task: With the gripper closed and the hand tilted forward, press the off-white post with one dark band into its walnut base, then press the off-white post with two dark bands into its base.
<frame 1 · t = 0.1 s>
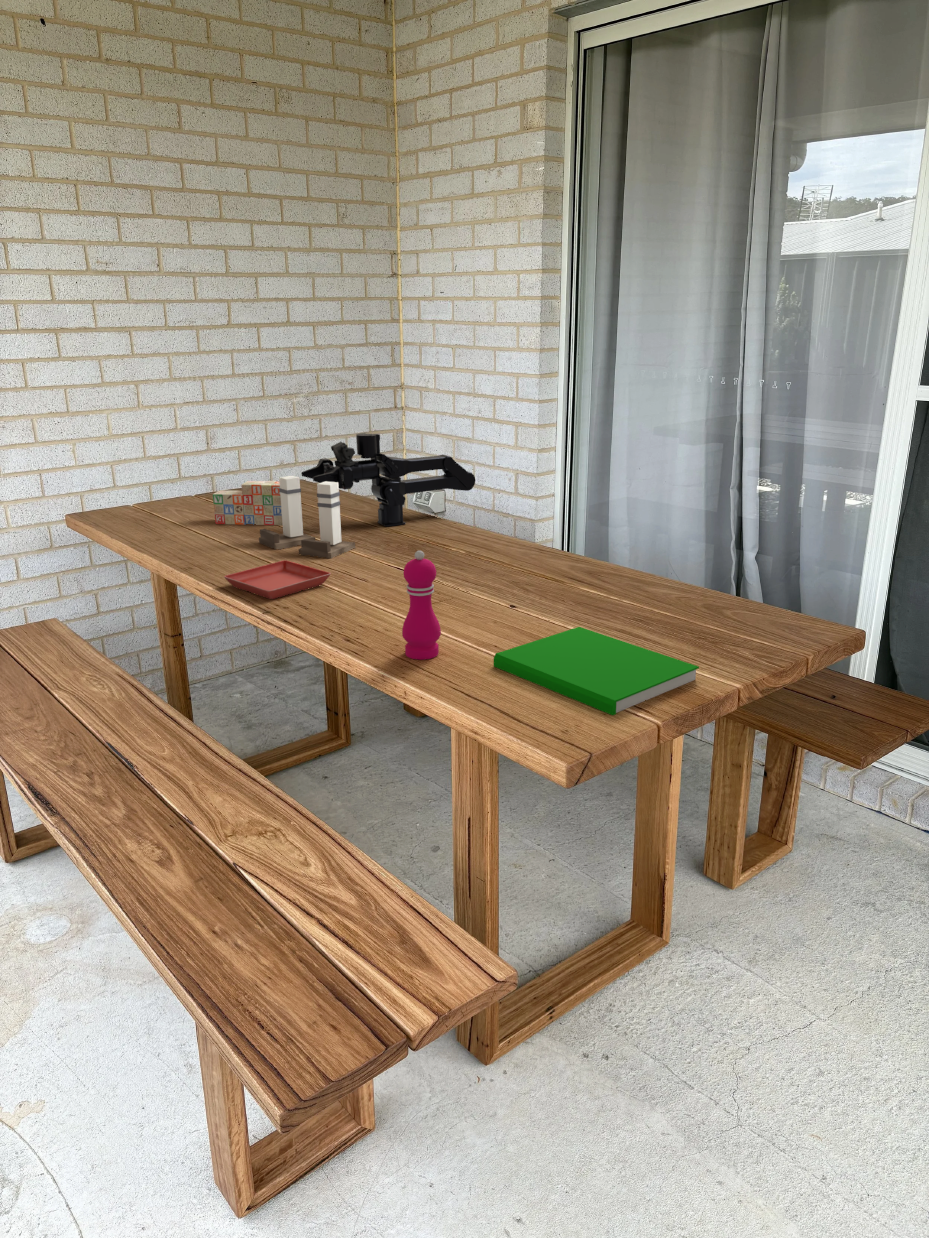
hand: (307, 476, 262), 17 cm above the table, tool horizontal, fingers open, 9 cm apart
post two: (329, 513, 247), point 10 cm above the table, slide at 0.0 cm
plant saucer: (278, 588, 219), on the table
stack of blocks: (252, 523, 283), on the table
base one: (287, 542, 258), on the table
pepper mill: (422, 654, 175), on the table
post one: (291, 506, 256), point 10 cm above the table, slide at 0.0 cm
book: (593, 677, 166), on the table
base two: (327, 551, 249), on the table
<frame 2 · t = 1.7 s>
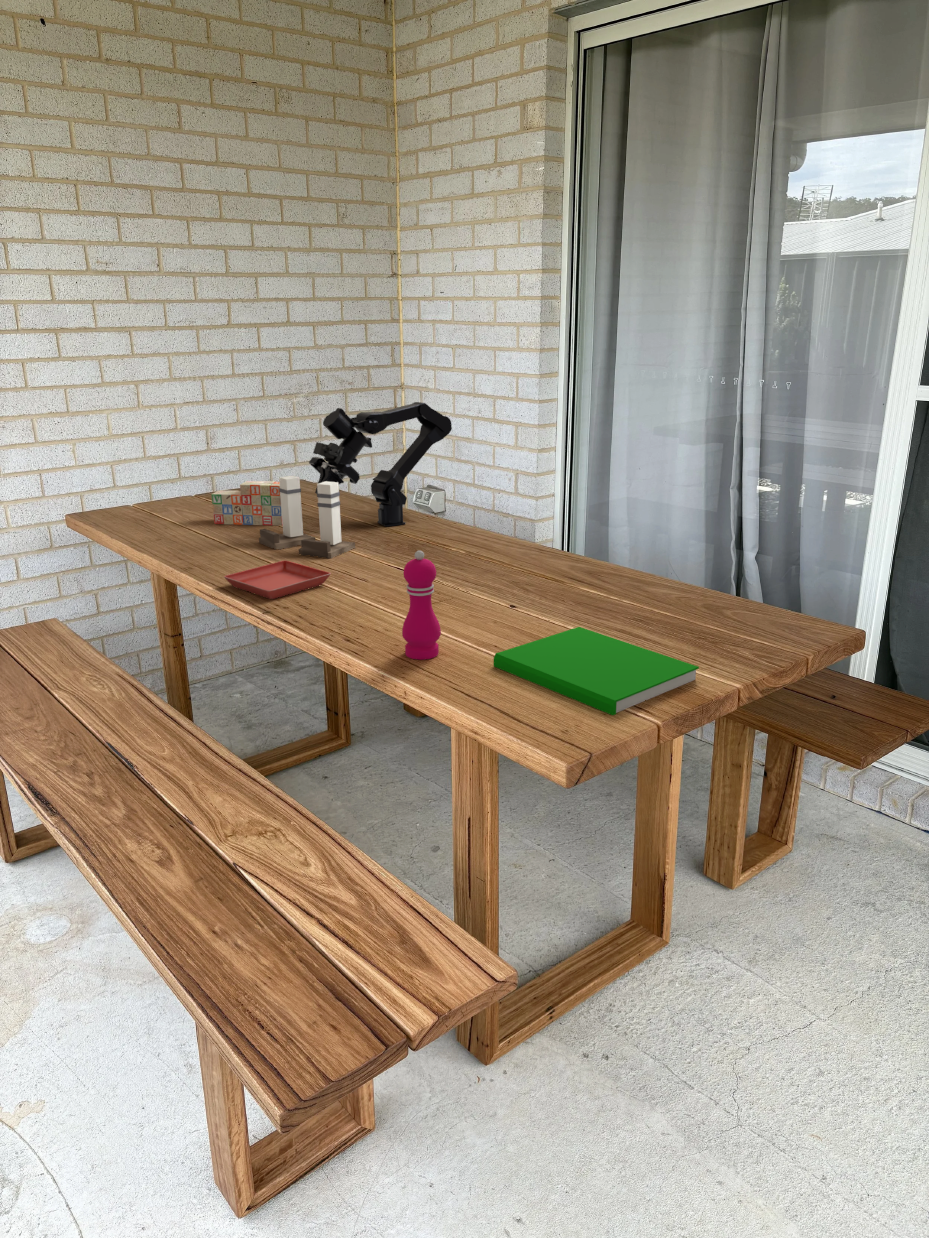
hand: (316, 493, 260), 12 cm above the table, tool tilted 45°, fingers closed
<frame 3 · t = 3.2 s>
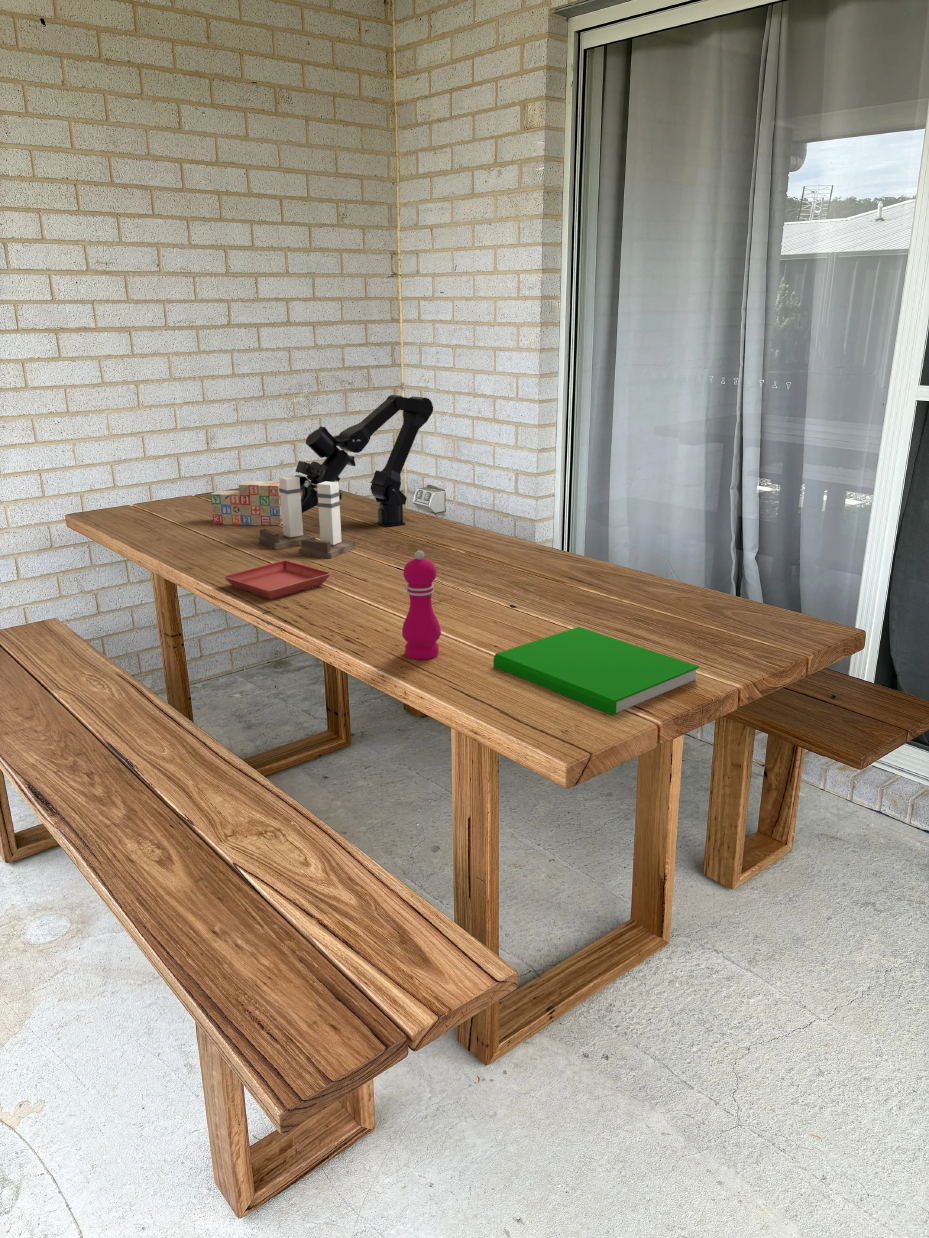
hand: (298, 512, 258), 8 cm above the table, tool tilted 45°, fingers closed, pressing on post one
post one: (291, 506, 256), point 10 cm above the table, slide at 0.0 cm, touching gripper
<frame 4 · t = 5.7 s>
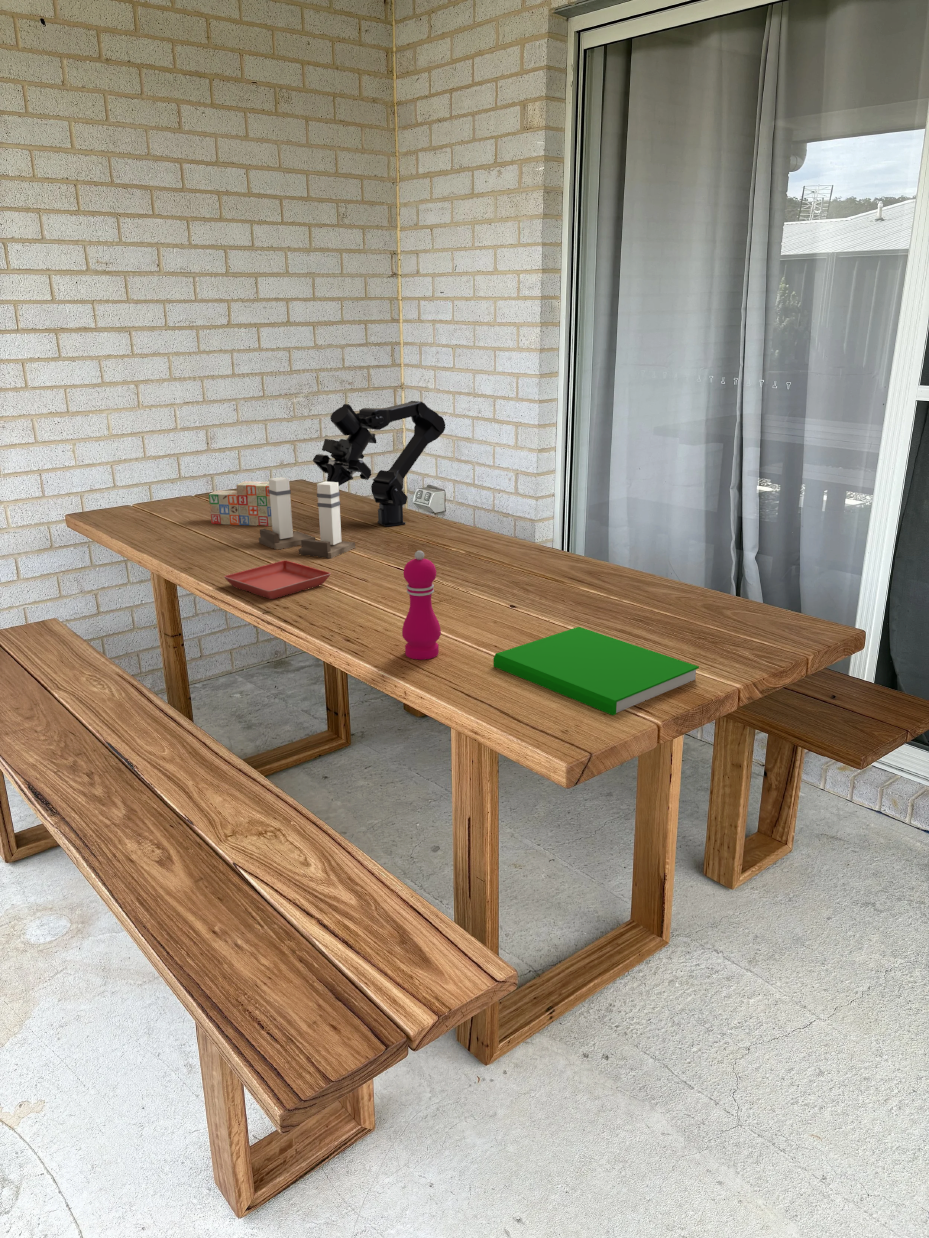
hand: (326, 491, 257), 14 cm above the table, tool tilted 45°, fingers closed
post one: (280, 508, 254), point 10 cm above the table, slide at 3.2 cm
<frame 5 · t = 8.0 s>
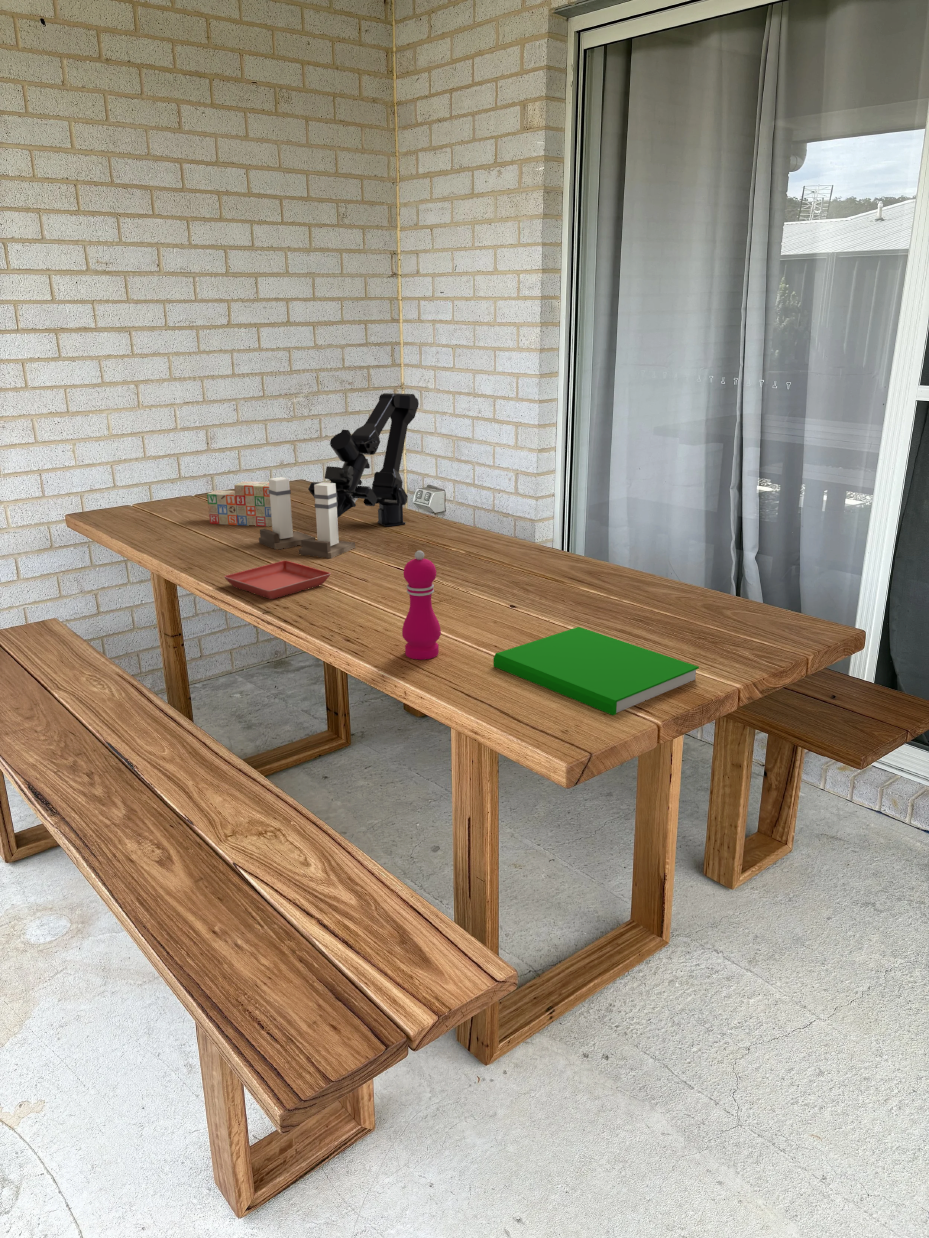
hand: (331, 520, 249), 8 cm above the table, tool tilted 45°, fingers closed, pressing on post two
post two: (326, 514, 246), point 10 cm above the table, slide at 1.4 cm, touching gripper
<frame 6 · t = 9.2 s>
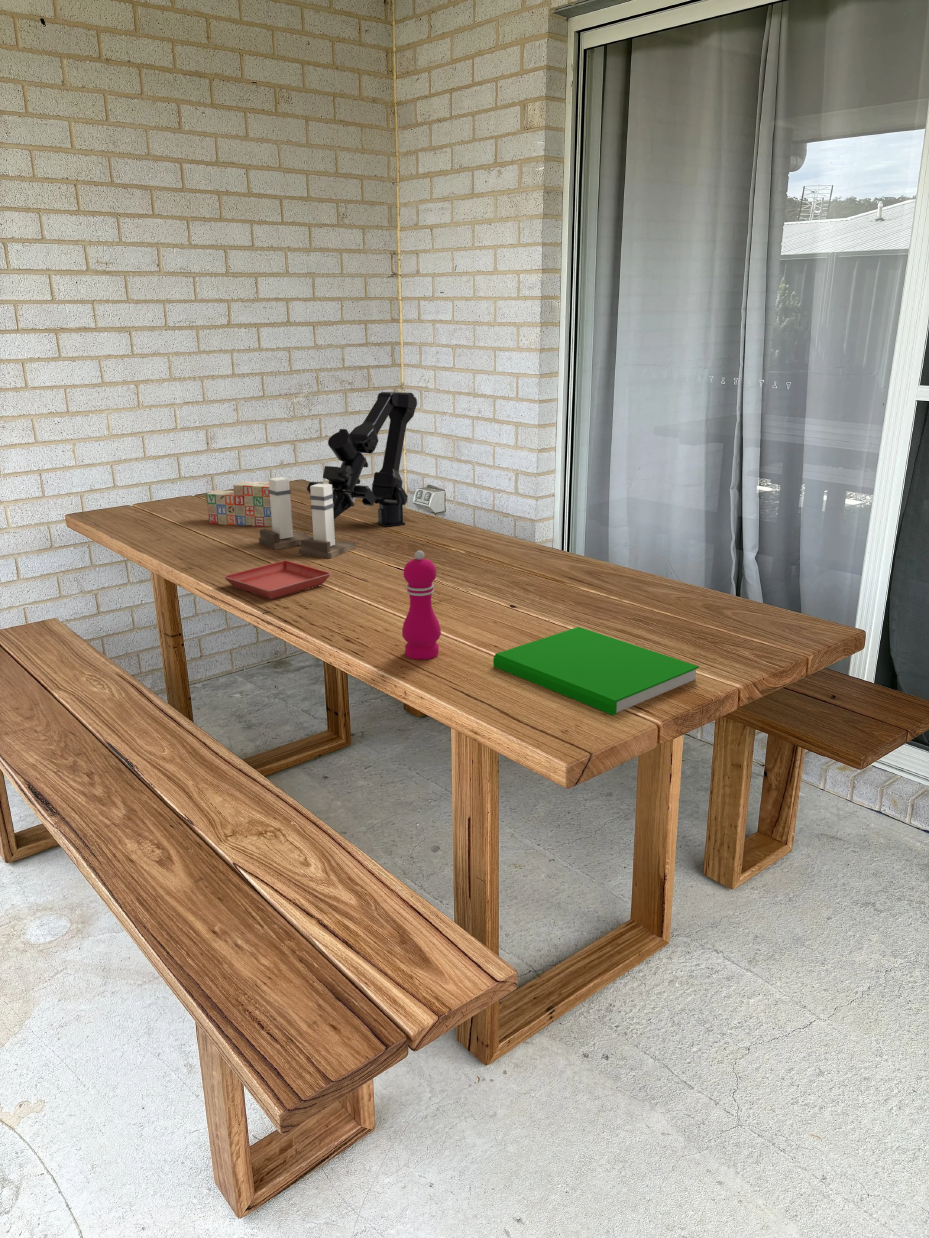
hand: (330, 519, 248), 8 cm above the table, tool tilted 45°, fingers closed
post two: (322, 515, 244), point 10 cm above the table, slide at 3.2 cm
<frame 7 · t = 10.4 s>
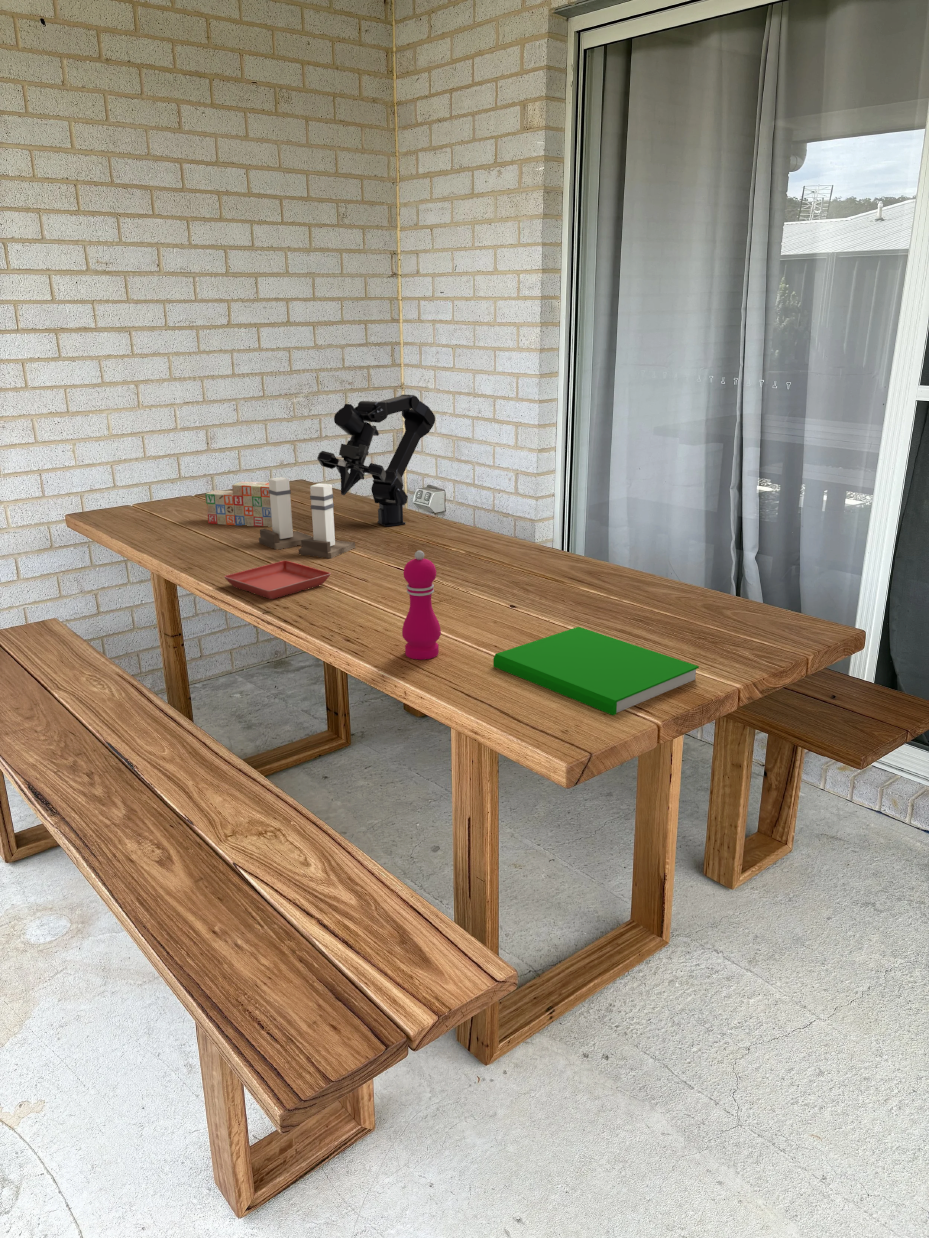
hand: (342, 494, 257), 13 cm above the table, tool tilted 35°, fingers closed
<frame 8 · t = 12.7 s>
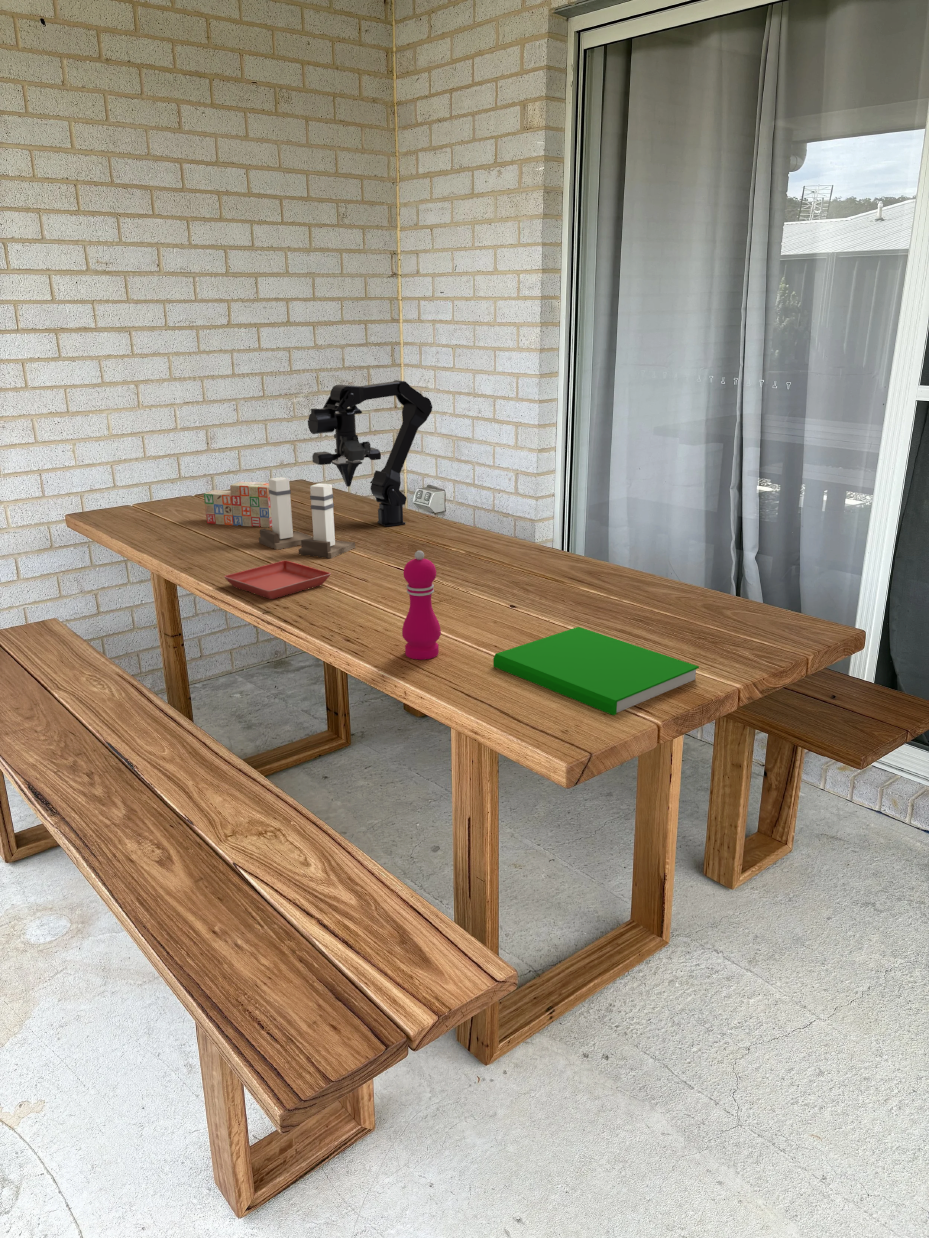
hand: (348, 486, 266), 13 cm above the table, tool pointing down, fingers closed
at the end: post one slide at 3.2 cm; post two slide at 3.2 cm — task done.
